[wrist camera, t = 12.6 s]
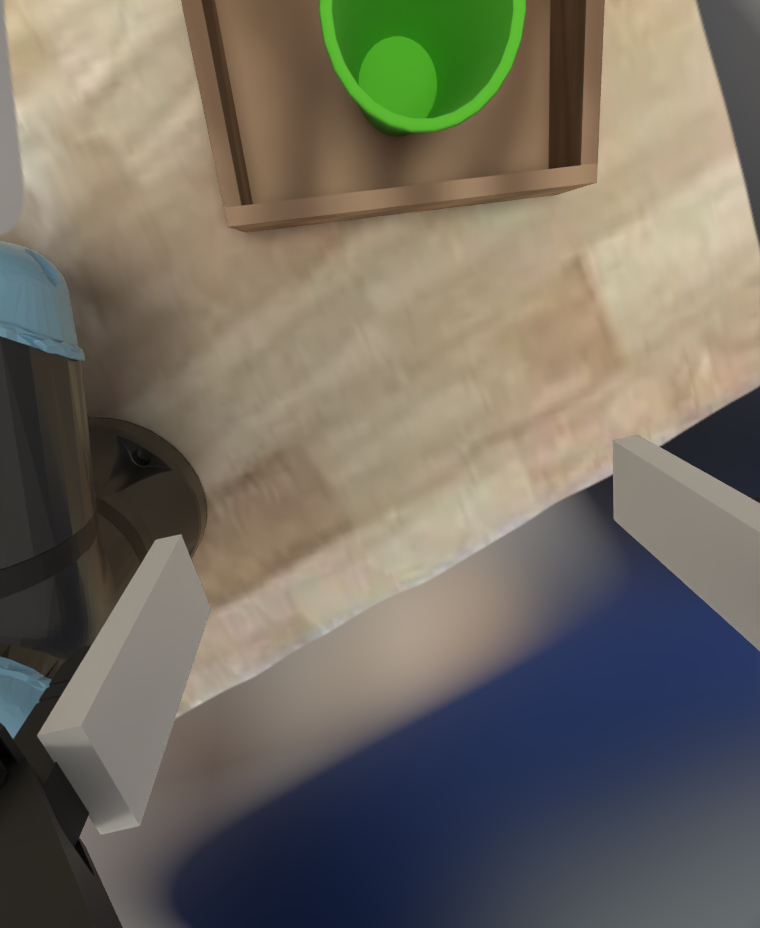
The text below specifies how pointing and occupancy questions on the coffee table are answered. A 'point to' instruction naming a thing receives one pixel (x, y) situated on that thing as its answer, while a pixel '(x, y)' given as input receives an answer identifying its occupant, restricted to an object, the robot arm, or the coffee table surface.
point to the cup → (421, 57)
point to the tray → (369, 150)
